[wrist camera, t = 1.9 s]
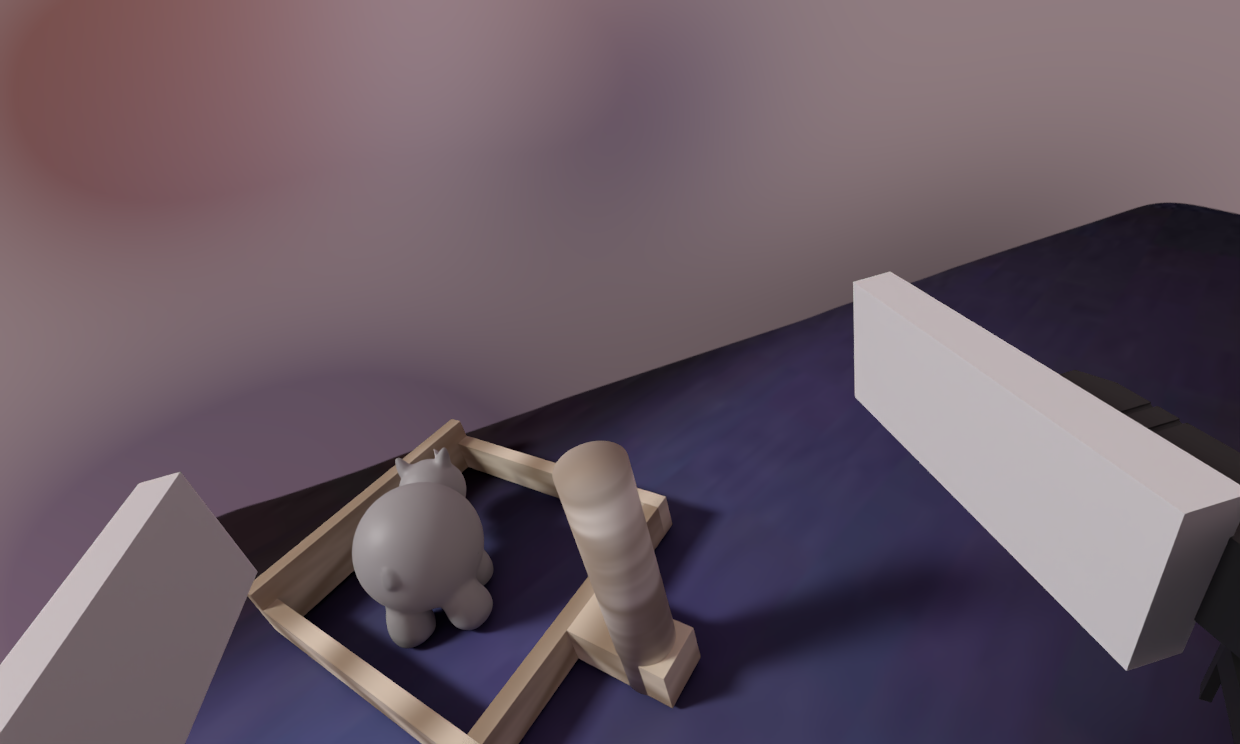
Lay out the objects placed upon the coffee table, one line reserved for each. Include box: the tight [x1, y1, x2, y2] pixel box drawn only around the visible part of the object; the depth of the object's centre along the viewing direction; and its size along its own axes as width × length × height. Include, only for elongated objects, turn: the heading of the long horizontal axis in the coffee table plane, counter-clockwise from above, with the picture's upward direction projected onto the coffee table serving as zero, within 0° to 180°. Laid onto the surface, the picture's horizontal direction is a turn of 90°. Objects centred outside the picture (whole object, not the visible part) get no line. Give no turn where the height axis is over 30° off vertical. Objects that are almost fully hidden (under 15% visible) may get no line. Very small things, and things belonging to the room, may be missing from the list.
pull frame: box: [247, 419, 701, 744], centre depth 35 cm, size 26×18×14 cm
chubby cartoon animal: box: [352, 448, 493, 648], centre depth 39 cm, size 8×12×9 cm, turn 5°
